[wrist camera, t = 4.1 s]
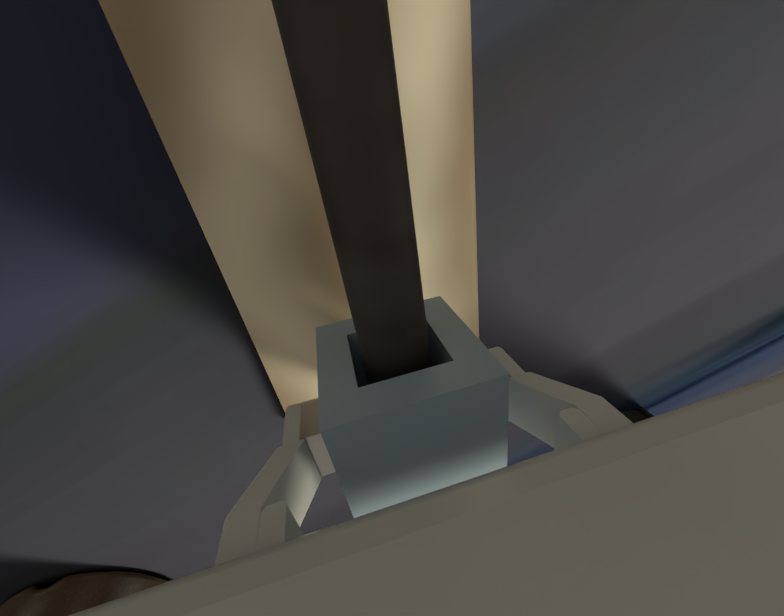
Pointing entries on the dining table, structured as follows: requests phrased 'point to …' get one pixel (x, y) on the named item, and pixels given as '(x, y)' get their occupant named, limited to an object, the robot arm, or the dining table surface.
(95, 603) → the plant pot
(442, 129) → the cord stand
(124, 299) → the dining table surface
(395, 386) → the marker sleeve
